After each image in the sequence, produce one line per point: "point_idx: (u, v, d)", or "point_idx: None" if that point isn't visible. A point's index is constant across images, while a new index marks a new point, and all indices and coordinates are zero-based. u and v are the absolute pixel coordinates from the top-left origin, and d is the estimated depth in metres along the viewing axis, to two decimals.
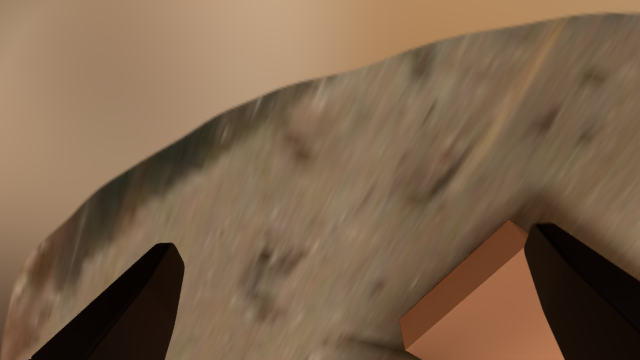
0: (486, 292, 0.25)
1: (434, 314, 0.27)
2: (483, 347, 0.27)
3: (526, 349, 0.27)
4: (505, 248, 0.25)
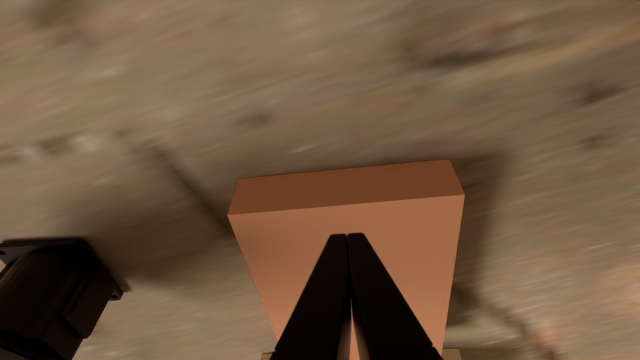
0: (374, 213, 0.19)
1: (293, 198, 0.19)
2: (311, 263, 0.21)
3: None
4: (429, 183, 0.19)
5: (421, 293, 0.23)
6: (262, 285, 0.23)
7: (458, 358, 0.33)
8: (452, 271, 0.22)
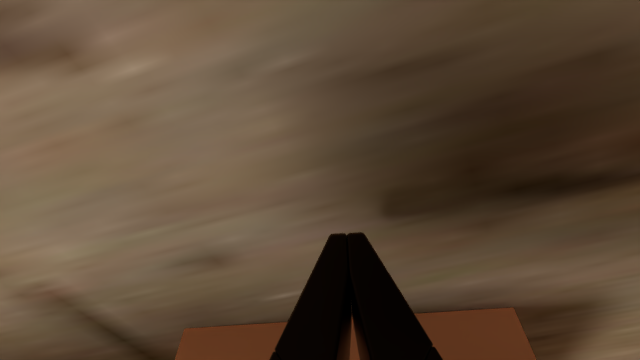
0: None
1: None
2: None
3: None
4: None
5: None
6: None
7: None
8: None
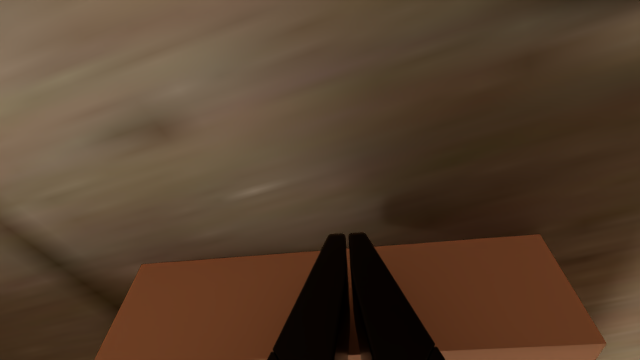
0: None
1: (232, 329, 0.09)
2: None
3: None
4: (516, 303, 0.09)
5: None
6: None
7: None
8: None
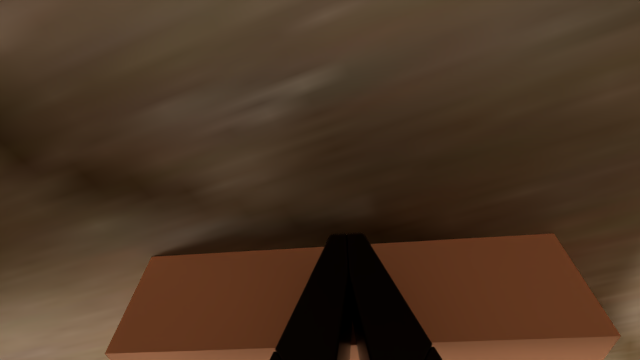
0: None
1: (247, 318, 0.09)
2: None
3: None
4: (532, 297, 0.09)
5: None
6: None
7: None
8: None
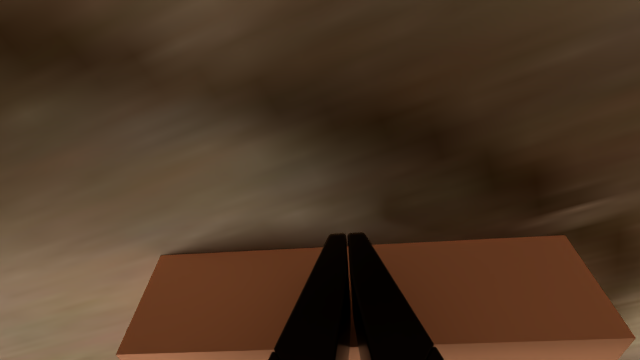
0: None
1: (259, 319, 0.09)
2: None
3: None
4: (545, 299, 0.09)
5: None
6: None
7: None
8: None
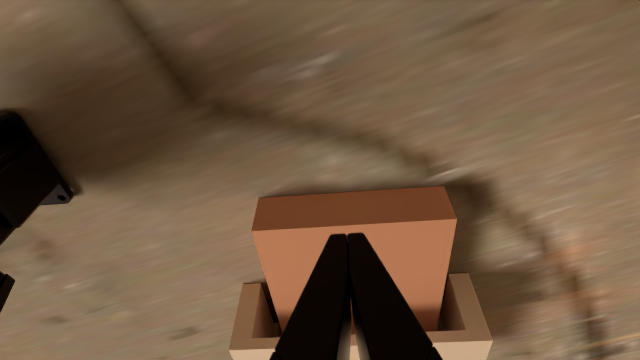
0: (379, 232, 0.22)
1: (309, 218, 0.22)
2: None
3: None
4: (427, 207, 0.22)
5: (416, 300, 0.26)
6: (276, 291, 0.26)
7: (468, 282, 0.28)
8: (444, 282, 0.25)
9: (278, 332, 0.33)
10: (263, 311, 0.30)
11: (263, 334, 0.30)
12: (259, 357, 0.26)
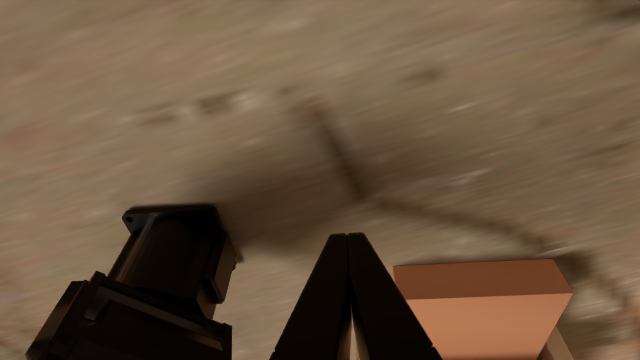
0: (505, 301, 0.26)
1: (444, 288, 0.27)
2: (445, 330, 0.29)
3: (462, 346, 0.30)
4: (544, 281, 0.26)
5: (518, 350, 0.31)
6: None
7: (556, 332, 0.33)
8: (547, 338, 0.29)
9: None
10: None
11: None
12: None
